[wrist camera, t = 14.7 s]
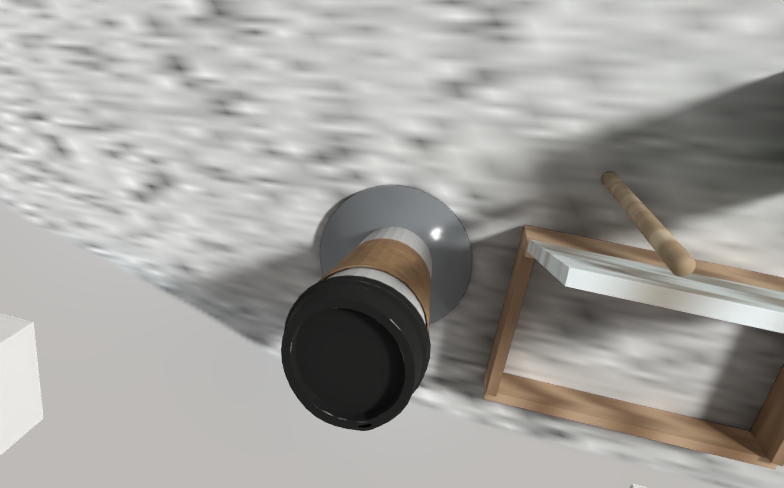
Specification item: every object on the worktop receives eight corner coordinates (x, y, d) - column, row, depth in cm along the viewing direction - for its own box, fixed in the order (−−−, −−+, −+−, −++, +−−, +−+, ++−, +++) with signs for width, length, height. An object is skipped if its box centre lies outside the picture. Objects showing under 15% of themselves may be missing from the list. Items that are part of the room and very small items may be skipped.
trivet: (296, 273, 45) (294, 276, 44) (370, 153, 40) (368, 155, 39) (417, 352, 45) (416, 355, 45) (503, 242, 41) (503, 245, 40)
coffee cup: (360, 318, 44) (298, 443, 30) (328, 222, 42) (245, 311, 28) (460, 300, 42) (442, 426, 28) (433, 198, 40) (399, 281, 26)
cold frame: (484, 376, 45) (477, 568, 28) (542, 158, 38) (577, 245, 22) (756, 441, 42) (920, 692, 26) (870, 221, 36) (1192, 373, 19)
